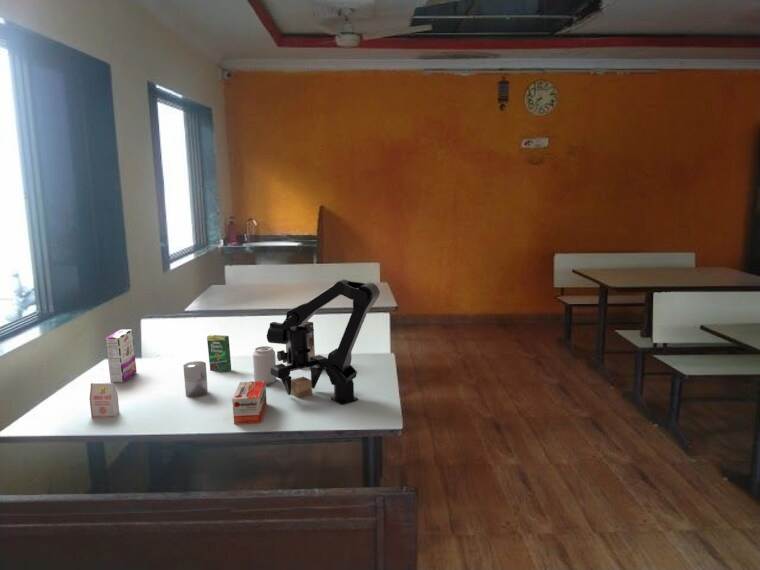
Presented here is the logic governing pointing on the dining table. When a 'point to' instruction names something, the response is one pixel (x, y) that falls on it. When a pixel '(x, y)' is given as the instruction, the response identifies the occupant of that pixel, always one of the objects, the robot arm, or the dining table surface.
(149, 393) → the dining table surface
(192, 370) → the grey metal cylinder
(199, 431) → the dining table surface
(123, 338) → the candy bar box
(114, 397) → the white paper food packet
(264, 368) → the can
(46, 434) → the dining table surface
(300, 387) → the light brown wooden cube
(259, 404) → the medicine box
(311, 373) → the robot arm
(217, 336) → the coffee box
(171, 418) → the dining table surface
